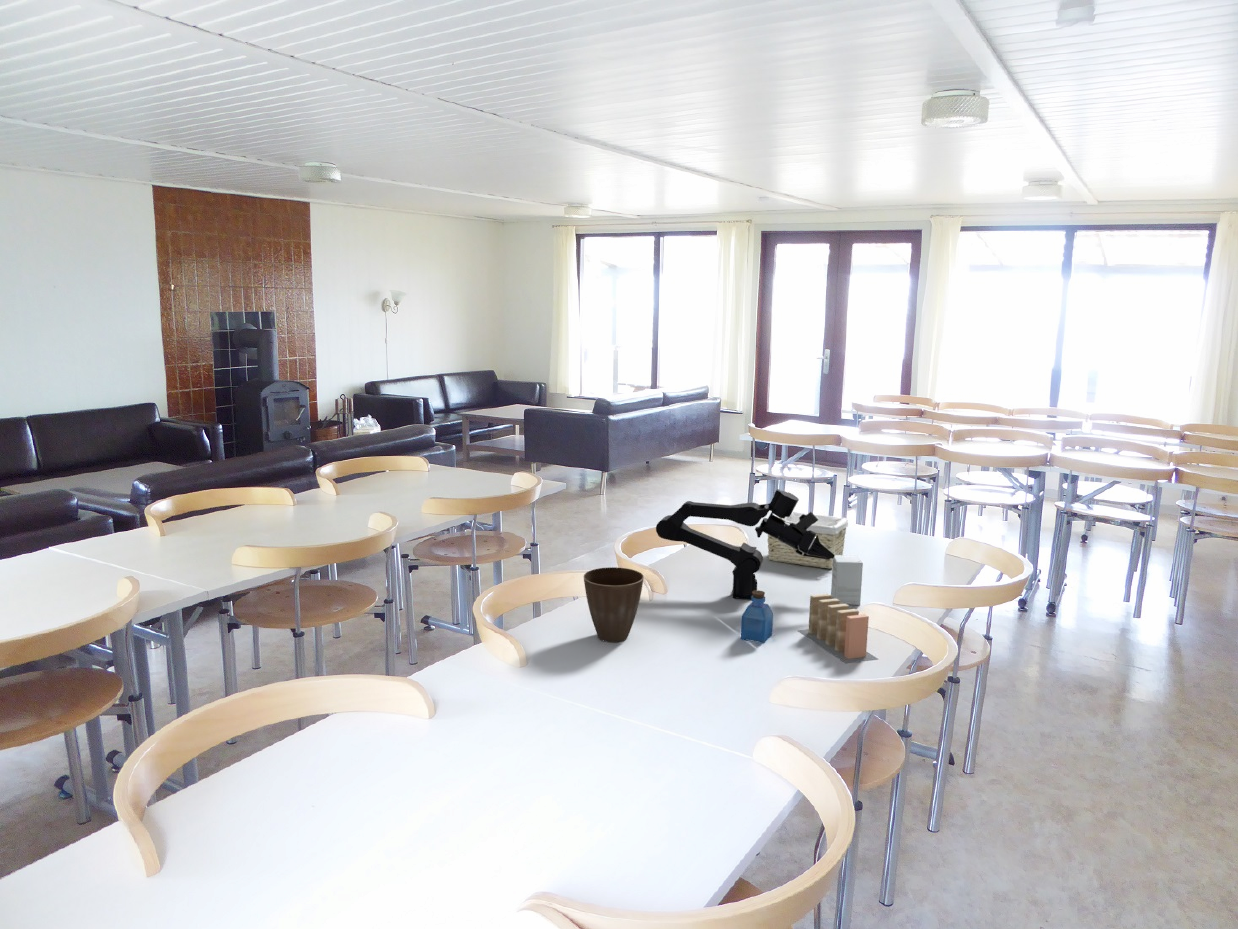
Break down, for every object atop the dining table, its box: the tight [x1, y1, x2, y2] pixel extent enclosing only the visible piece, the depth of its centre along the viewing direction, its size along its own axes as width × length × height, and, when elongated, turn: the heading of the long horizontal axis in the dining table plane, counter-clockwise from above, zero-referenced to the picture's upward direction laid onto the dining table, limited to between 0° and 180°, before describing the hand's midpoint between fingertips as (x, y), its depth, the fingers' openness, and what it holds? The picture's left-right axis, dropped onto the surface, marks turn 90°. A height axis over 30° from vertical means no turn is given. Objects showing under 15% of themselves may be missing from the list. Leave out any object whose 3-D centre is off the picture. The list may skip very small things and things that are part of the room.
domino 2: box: [817, 598, 840, 641], centre depth 212 cm, size 2×5×10 cm, turn 109°
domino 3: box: [826, 604, 850, 646], centre depth 208 cm, size 2×5×10 cm, turn 109°
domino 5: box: [844, 613, 870, 659], centre depth 201 cm, size 2×5×10 cm, turn 109°
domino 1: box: [807, 593, 832, 635], centre depth 216 cm, size 2×5×10 cm, turn 109°
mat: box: [797, 628, 879, 664], centre depth 209 cm, size 22×9×1 cm, turn 19°
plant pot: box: [583, 566, 645, 643], centre depth 211 cm, size 15×15×16 cm
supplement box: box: [830, 555, 864, 606], centre depth 242 cm, size 7×7×13 cm
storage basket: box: [767, 511, 849, 570], centre depth 283 cm, size 24×16×15 cm
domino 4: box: [835, 608, 860, 653], centre depth 205 cm, size 2×5×10 cm, turn 109°
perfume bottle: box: [740, 589, 774, 644], centre depth 213 cm, size 6×6×12 cm
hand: (832, 557), depth 237 cm, fingers open, 9 cm apart
